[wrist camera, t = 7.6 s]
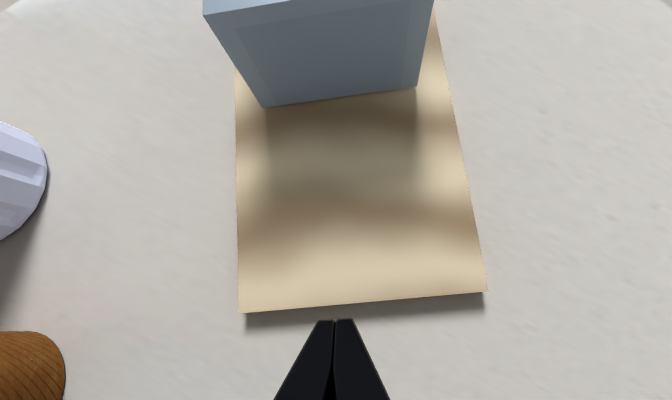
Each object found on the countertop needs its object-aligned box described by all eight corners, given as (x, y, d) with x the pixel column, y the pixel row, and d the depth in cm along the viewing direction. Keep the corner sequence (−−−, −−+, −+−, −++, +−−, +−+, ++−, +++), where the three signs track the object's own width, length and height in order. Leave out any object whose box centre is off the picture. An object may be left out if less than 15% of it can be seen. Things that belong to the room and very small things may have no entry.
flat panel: (482, 291, 20) (517, 292, 15) (246, 312, 21) (205, 319, 16) (423, -18, 25) (434, -93, 20) (239, 13, 27) (207, -50, 22)
